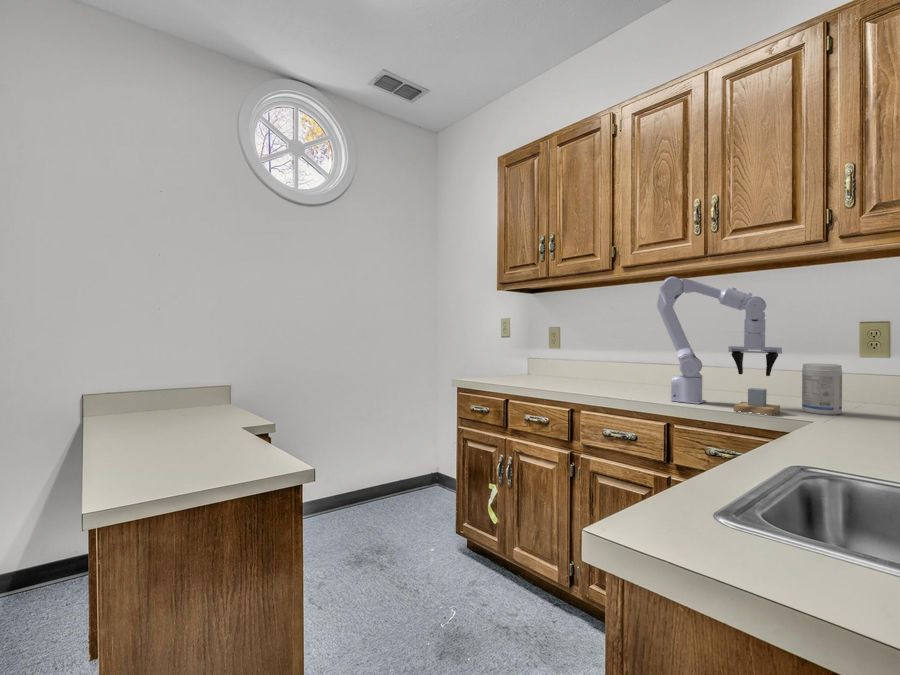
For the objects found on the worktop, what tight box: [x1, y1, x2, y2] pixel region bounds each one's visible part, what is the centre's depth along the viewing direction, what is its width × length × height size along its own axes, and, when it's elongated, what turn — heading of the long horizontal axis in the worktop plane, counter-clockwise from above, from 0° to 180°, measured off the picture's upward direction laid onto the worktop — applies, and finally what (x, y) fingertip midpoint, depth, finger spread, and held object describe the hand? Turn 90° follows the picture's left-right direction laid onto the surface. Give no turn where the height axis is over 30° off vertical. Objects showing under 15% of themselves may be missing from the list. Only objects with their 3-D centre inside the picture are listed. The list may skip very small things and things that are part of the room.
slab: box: [733, 401, 781, 416], centre depth 142 cm, size 10×10×2 cm
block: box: [747, 387, 768, 407], centre depth 142 cm, size 4×4×5 cm
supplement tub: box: [801, 362, 843, 416], centre depth 141 cm, size 10×10×15 cm
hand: (754, 375), depth 151 cm, fingers open, 7 cm apart
